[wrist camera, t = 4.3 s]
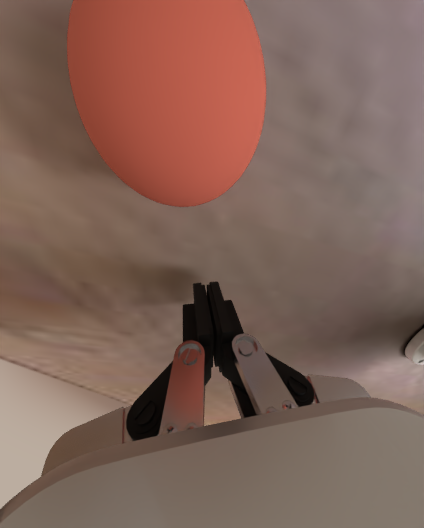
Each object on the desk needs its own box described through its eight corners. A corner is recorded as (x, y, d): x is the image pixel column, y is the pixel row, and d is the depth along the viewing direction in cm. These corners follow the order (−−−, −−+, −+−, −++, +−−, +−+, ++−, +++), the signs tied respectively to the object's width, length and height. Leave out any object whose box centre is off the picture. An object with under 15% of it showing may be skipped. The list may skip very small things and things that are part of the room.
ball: (385, -40, 2) (261, 222, 7) (246, -73, 4) (224, 146, 10) (-119, -62, 2) (131, 248, 7) (13, -88, 4) (124, 159, 9)
